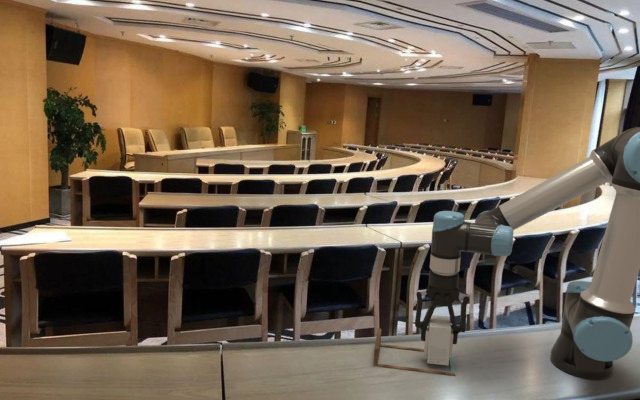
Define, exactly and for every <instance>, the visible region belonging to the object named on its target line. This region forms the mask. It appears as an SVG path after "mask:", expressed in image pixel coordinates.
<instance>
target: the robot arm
mask: <svg viewBox="0 0 640 400" xmlns="http://www.w3.org/2000/svg"><path fill="white" fill-rule="evenodd" d="M606 183H610V185H611V186H612V188H613V189H614V190H615V196H614V199H613V204H612V208H611V210H610V214H609V217H608V222H607V225H606V229H605V232H604V236H603V239H602V243H601V246H600V250H599V253H598V257H597V260H596V263H595V268H594V270H593V271H594V272H593V275H592V278H591V281H585V280H575V281H570V282H568V283H567V287H566V290H565V298H564V306H563V313H562V314H563V315H562V320H561V321H562V322H561V327H560V328H561V329H560V334H559V335H558V337H557V338H556V341H555V342H554V344H553V346H552V347H551V351H550V356H549V357H550V358H549V359H550V361H551V363H552V364H553V365H554V366H555V367H556V368H558V369H559V370H561V371H563V372H565V373H566V374H569V375H572V376H574V377H578V378H582V379H588V380H606V379H608V378H611V376H612V375H613V372H614V367H615V366H614V365H615V364H614V361H616V360H619V359H622V358H624V357H625V356H626V355H627V354H628V353H630V351H631V349H632V347H633V340H634V339H633V333H632V331H631V326H632V323H633V321H634V316H635V313H636V307H635V305H634V304H633V303H632V301H631V298H632V296H633V292H634V289H635V287H636V282H637V279H638V275H639V272H640V126H636V127H632V128H629V129H626V130H625V131H623V132H621V133H620V134H618V135H616V136H614V137H613V138H611V139H610V140H608V141H606V142H605V143H603V144H601V145H599V146H598V147H596V148H594V149H592V150H591V151H590V155H589V156H588V157H586V158H585V159H583V160H581V161H578V163H575V164H573V165H571V166H570V167H568V168H566V169H564V170H562V171H561V172H559V173H556V174H555V175H553V176H552V177H550V178H547V179H546V180H544V181H542V182H541V183H538V184H537V185H535V186H533V187H531V188H529V189H528V190H526V191H524V192H522V193H520V194H518V195H517V196H515V197H512V198H511V199H510V200H508V201H506V202H503V203H502V204H500V205H498V206H497V207H495V208H493V209H491V210H485V211H483V212H481V213H479V214H478V215H477V217H476V218H475V221H474V222H469V221H465V216H464V214H463V213H462V212H458V211H454V210H453V211H452V210H442V211H438V212H436V213H435V214H434V216H433V223H432V229H431V231H432V232H431V246H430V259H429V260H430V261H429V272H428V284H427V287H426V288H425V289H419V288H417V289H416V293H415V296H416V299H417V302H416V303H417V304H416V310H415V319H414V327H415V328H418V329H420V331H421V332H420V339H421V341H422V342H424V346H423V347H424V348H423V349H424V352H423V354H424V355H427V350H428V337H429V327H428V326H429V321H430V319H431V317H432V315H434V311H435V309H436V307H437V306H442V307H447V310H448V313H449V315H448V316H449V317H450V322H451V340H450V354H449V357H452V353H453V345H457V343H458V338H459V337H458V335H459V333H466V325H467V324H466V323H467V306H468V304H469V301H470V297H469V294H468V293H462V292H460V290H459V280H460V273H459V272H460V271H461V270H460V267H461V256H462V252H466V253H467V252H468V253H475V254H482V255H487V256H488V255H491V256H494V257H499V256H500V257H508V256H510V255H511V254H512V252H513V243H514V231H515V230H518V229H519V228H521V227H523V226H525V225H527V224H528V223H531V222H532V221H535V220H536V219H538V218H540V217H542V216H544V215H546V214H547V213H550V212H552V211H554V210H555V209H557V208H558V209H559V207H561V206H564V205H565V204H567V203H569V202H571V201H573V200H575V199H578V198H579V197H581V196H583V195H585V194H587V193H589V192H591V191H593V190H595V189H597V188H598V187H600V186H602V185H604V184H606ZM426 295H427V297H429V299H430V302H429V305H428V307H427V310H426V313H425V316H424V317H423V320H422V321H421V317H422V311H423V299H425V298H426ZM457 299H459V302H460V311H459V312H460V315H459V318H460V319H459V320H460V321H459V325H458V324H457V319H456V315H455V312H454V311H455V310H454V306H453V303H454V302H455V301H456V300H457Z"/></svg>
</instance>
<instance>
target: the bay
mask: <svg viewBox="0 0 640 400" xmlns="http://www.w3.org/2000/svg"><path fill="white" fill-rule="evenodd" d="M381 340H382V328H377V332H376V338H375V342H374V343H375V344H374V353H373V367H379V368H385V369H394V370H402V371H410V372H420V373H425V374H426V373H427V374H433V375H434V374H435V375H442V376H443V375H444V376H449V377H451V376H452V377H456V369H455V362H454V355H453V352H452V357H449V368H450V371H441V370H435V369H434V370H433V369H424V368H417V367H411V366H410V367H408V366H400V365H393V364H385V363H379V358H380V352H381V351H380V350H381V348H389V349H396V350H405V351H414V352H415V351H416V352H422V353H424V348H418V347H411V346H410V347H407V346H400V345H391V344H382V343H381Z"/></svg>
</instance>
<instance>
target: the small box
mask: <svg viewBox="0 0 640 400" xmlns="http://www.w3.org/2000/svg"><path fill="white" fill-rule="evenodd" d="M427 327H429V337H428V350H427V354H426V357H427V358H426V359H427V361H426V362H427V364H431V365H433V364H434V365H439V366H450V360H449V354H450V340H451V330H452V324H451V319H450V316H449V315H440V314H439V315H438V314H432V317H431V319H430V321H429V324H428V326H427Z"/></svg>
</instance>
